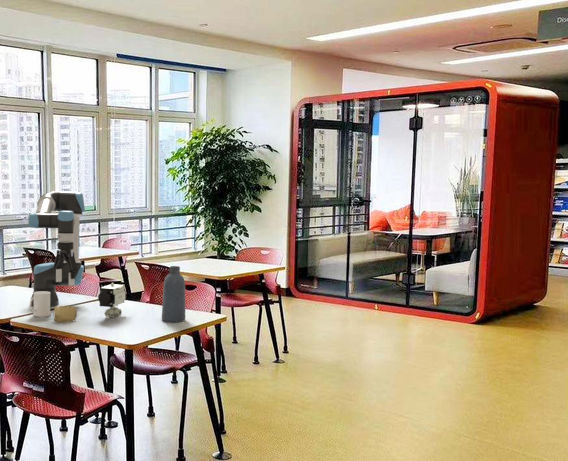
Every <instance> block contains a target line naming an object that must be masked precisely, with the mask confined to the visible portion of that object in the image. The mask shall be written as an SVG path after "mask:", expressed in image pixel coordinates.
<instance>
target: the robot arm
mask: <svg viewBox="0 0 568 461" xmlns="http://www.w3.org/2000/svg"><path fill="white" fill-rule="evenodd" d="M84 200H85V199H84V194H83V193H82V192H81V191H76V190H75V191H74V190H73V191H72V190H71V191H68V190H67V191H66V190H52V191H49V192H48V191H47V192H46V193H44V194H42V195H41V196H40V197H39V198H38V200H37V202H36V206H37V207H36V210H35V212H30V213H29V215H28V227H29V228H31V229H33V228H34V229H57V236H56V237H57V250H56V255H55V258H54V262H45V263H39V264H36V265H35V266H34V268H33V292H32V295H31V297H30V301H31V299H32V298H33V297H34V292H38V291H48V292H50V307H53V306H54V307H56V306H58V305H59V303H60V301H59V297H58V294H57V291H56V287H77V286H80V285H81V284H82V282H83V276H84V269H85V266H84V265H82V261H81V260H80V257H79V256H80V218H81V217H82V216H83V213H85V212H86V210H85V201H84ZM52 212H57V213H52ZM30 301H29V302H30ZM31 307H34V299H33V300H32V302H31Z"/></svg>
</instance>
